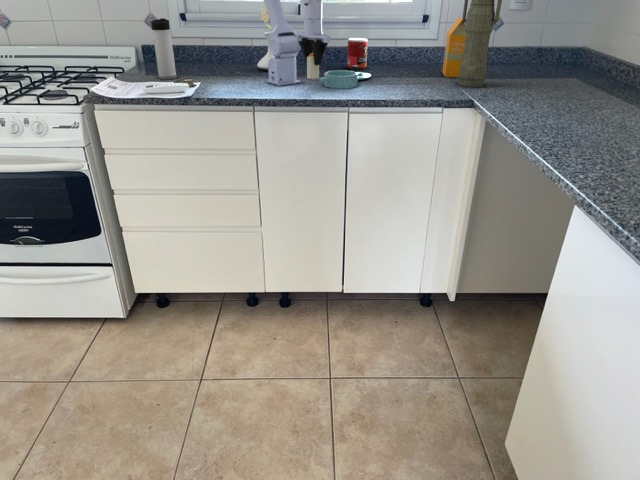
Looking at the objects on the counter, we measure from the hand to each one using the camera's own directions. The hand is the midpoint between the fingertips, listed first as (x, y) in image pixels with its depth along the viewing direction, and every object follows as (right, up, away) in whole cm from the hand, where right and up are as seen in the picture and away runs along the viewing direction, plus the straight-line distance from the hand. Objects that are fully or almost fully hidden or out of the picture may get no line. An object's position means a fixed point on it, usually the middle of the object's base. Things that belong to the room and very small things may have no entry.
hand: (313, 63), depth 161 cm
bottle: (0, -4, +2) cm, 4 cm away
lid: (+15, +3, +21) cm, 26 cm away
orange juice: (+54, +5, +27) cm, 61 cm away
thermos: (+55, -4, +11) cm, 57 cm away
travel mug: (-54, +2, +21) cm, 58 cm away
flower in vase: (-17, +10, +36) cm, 41 cm away
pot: (+10, -4, +10) cm, 14 cm away
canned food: (+18, +13, +41) cm, 46 cm away
